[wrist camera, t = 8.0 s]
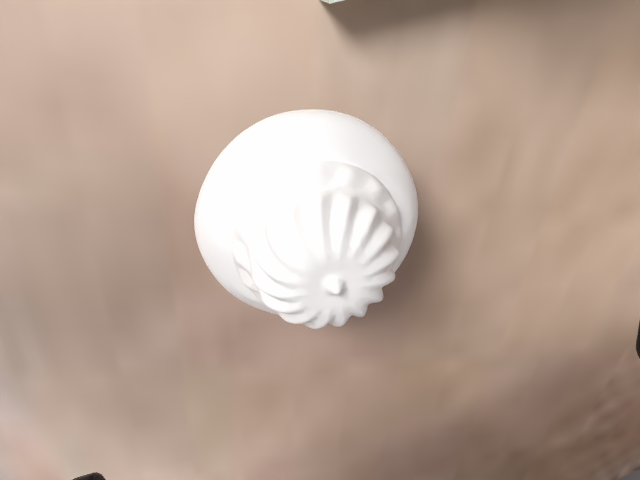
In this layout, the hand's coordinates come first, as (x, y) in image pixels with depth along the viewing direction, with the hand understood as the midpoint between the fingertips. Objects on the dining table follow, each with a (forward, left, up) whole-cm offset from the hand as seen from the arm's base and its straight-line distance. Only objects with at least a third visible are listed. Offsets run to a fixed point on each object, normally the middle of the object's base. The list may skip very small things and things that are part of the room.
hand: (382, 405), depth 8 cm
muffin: (0, 0, -10) cm, 11 cm away
